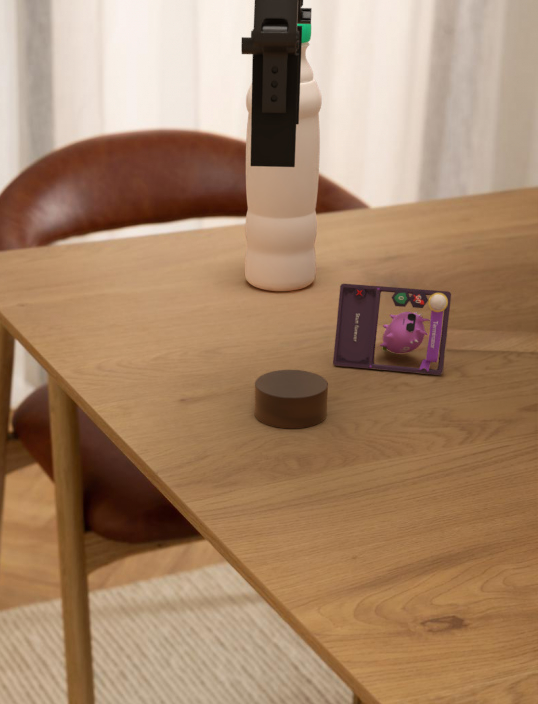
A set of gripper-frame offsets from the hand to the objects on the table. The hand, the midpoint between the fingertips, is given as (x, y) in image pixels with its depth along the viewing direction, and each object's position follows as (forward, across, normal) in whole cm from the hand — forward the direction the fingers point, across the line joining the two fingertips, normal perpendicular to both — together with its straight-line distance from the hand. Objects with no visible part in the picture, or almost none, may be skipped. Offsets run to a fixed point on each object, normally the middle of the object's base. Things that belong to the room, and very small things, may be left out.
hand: (276, 143), depth 79 cm
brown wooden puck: (+21, -2, +2) cm, 21 cm away
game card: (+21, -13, +10) cm, 26 cm away
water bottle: (+21, -34, 0) cm, 40 cm away
